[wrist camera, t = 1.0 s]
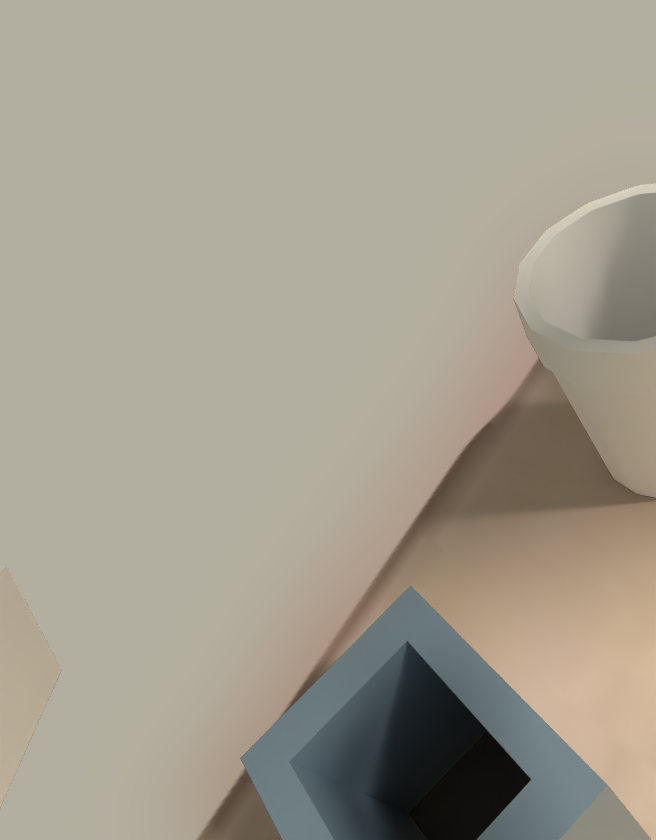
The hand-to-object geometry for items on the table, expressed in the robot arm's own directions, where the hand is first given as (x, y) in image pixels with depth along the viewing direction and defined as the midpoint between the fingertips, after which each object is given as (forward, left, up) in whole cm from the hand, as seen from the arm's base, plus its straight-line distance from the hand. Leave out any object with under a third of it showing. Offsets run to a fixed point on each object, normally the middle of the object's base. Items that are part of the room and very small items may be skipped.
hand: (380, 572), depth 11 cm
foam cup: (+2, -17, -22) cm, 28 cm away
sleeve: (+3, +3, -22) cm, 22 cm away
